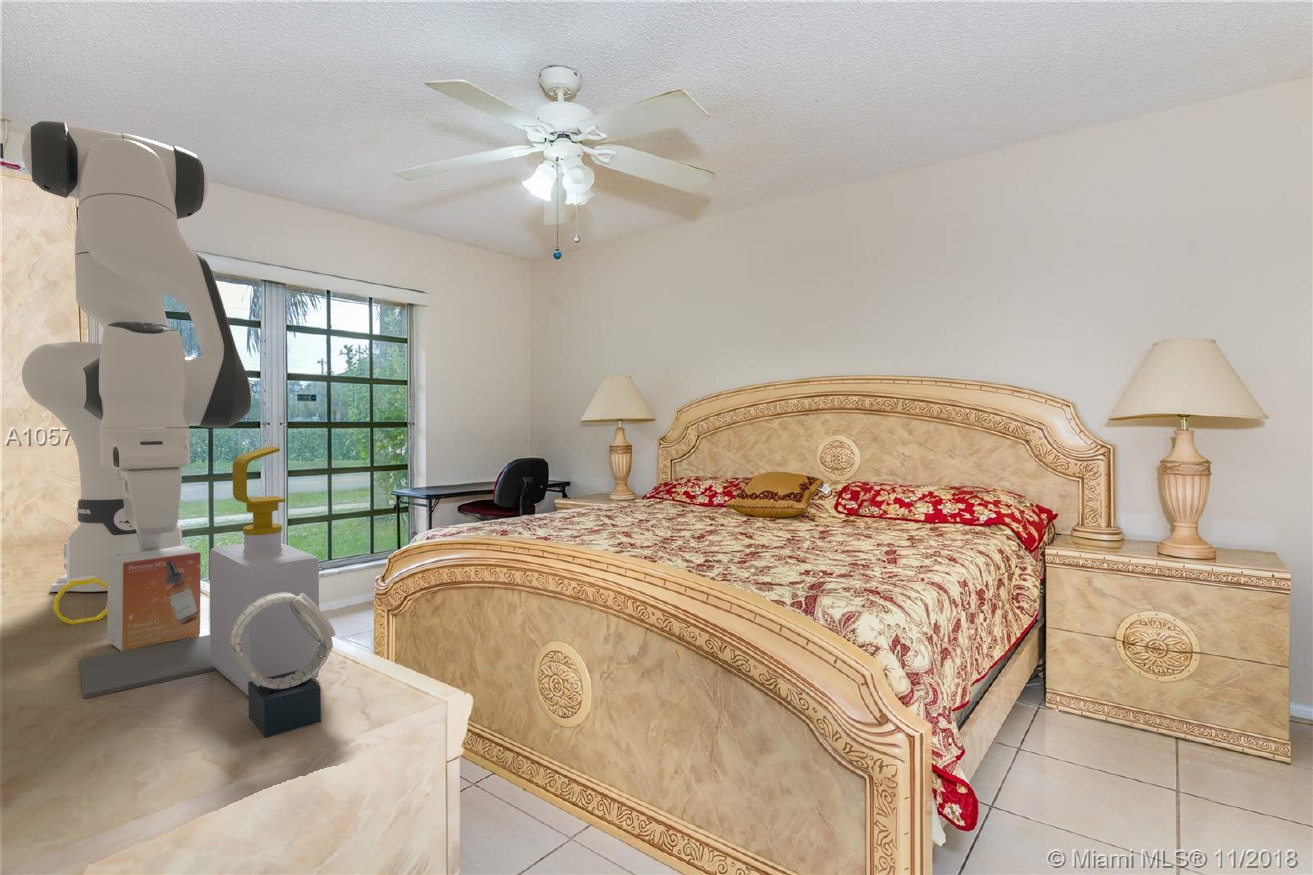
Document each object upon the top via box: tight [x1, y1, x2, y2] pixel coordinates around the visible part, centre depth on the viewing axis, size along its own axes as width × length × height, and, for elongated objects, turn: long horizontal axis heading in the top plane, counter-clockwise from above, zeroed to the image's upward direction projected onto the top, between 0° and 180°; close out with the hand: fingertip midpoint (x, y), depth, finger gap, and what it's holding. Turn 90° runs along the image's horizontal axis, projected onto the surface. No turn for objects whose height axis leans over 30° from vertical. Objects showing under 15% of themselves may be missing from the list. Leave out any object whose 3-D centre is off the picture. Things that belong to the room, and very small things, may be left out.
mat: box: [78, 634, 218, 699], centre depth 73 cm, size 13×14×1 cm
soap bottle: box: [208, 445, 320, 696], centre depth 68 cm, size 12×7×23 cm, turn 49°
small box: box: [106, 545, 202, 652], centre depth 80 cm, size 8×6×10 cm
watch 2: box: [229, 592, 336, 739], centre depth 58 cm, size 6×8×11 cm
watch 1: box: [53, 575, 108, 626], centre depth 88 cm, size 6×3×6 cm, turn 138°
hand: (149, 562), depth 83 cm, fingers closed
